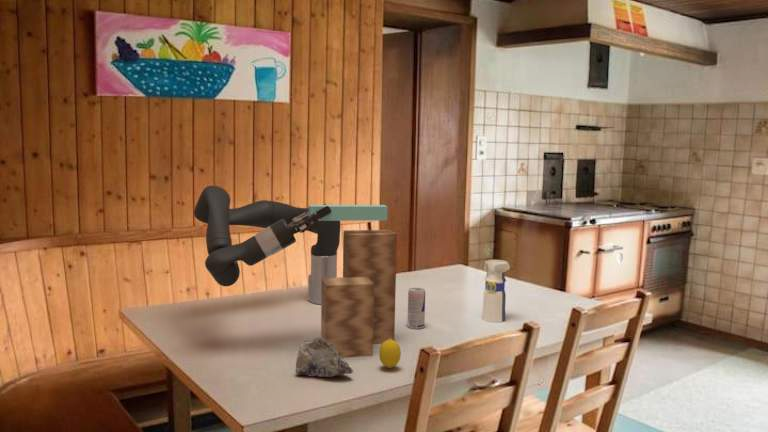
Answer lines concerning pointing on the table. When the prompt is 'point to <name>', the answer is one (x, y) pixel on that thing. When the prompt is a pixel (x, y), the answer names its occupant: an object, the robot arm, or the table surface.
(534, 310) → the table surface
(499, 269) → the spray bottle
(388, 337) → the tall stand
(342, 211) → the teal bar
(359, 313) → the low stand
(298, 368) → the mineral rock
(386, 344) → the lemon
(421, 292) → the energy drink
